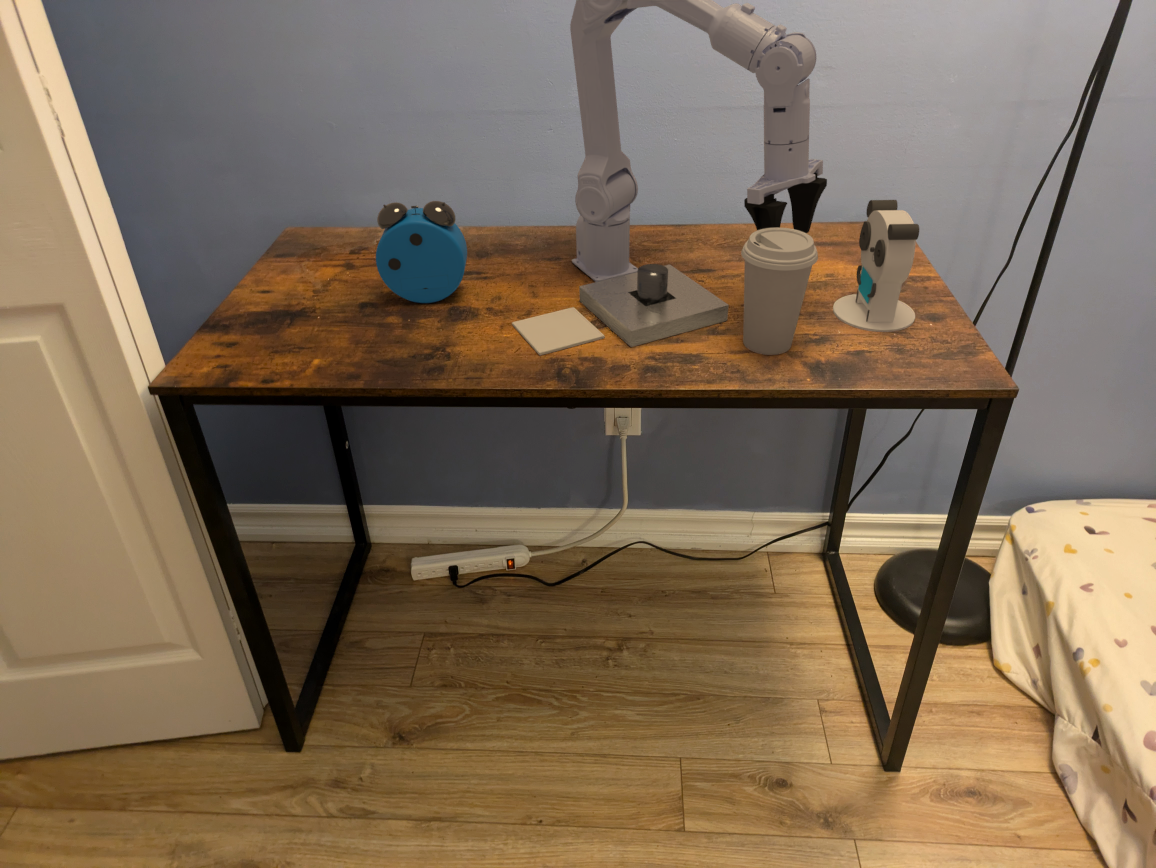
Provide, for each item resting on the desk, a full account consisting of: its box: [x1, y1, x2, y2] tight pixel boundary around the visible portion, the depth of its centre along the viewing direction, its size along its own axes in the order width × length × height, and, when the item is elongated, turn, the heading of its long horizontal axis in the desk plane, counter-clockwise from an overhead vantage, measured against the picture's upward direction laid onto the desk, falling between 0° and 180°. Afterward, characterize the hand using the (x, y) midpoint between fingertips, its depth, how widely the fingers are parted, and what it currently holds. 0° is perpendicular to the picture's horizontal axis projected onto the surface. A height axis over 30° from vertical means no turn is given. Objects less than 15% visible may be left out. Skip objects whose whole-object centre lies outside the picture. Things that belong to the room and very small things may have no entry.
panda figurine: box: [832, 199, 920, 333], centre depth 107 cm, size 12×11×15 cm
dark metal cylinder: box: [637, 263, 668, 306], centre depth 112 cm, size 4×4×6 cm
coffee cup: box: [740, 227, 819, 356], centre depth 101 cm, size 10×10×15 cm
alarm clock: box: [375, 200, 468, 304], centre depth 115 cm, size 13×6×15 cm, turn 92°
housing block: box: [578, 264, 730, 348], centre depth 113 cm, size 16×16×2 cm
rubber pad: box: [511, 306, 606, 356], centre depth 109 cm, size 10×10×1 cm
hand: (785, 240), depth 107 cm, fingers open, 7 cm apart
